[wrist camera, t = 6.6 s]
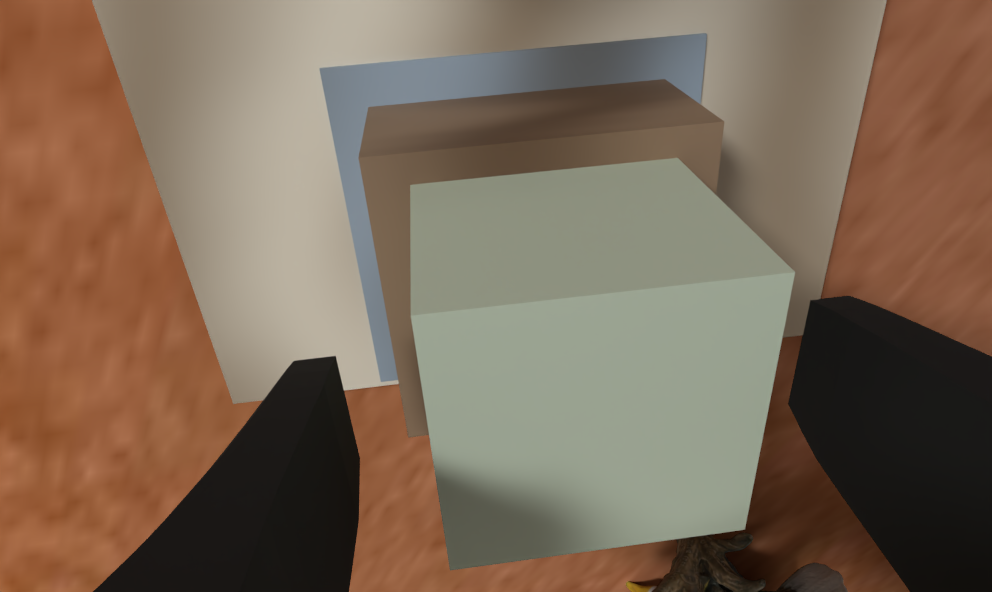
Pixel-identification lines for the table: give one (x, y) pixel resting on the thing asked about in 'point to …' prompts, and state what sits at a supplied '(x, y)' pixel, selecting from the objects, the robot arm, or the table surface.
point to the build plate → (441, 76)
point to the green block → (591, 357)
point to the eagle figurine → (731, 570)
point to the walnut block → (510, 166)
